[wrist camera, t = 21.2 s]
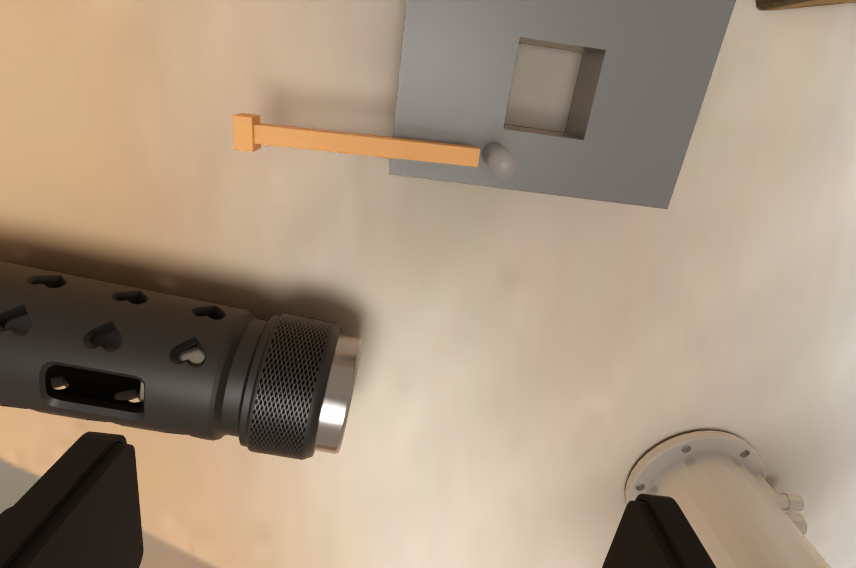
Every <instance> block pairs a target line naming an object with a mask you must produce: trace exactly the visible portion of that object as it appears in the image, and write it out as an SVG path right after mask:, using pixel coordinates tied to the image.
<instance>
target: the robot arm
mask: <svg viewBox="0 0 856 568" xmlns="http://www.w3.org/2000/svg"><path fill="white" fill-rule="evenodd" d="M765 478H766V472H765V466H764V463H763V461H762V459H761V457H760V456H759V455H758V453H757V452H756V451H755V450H754V449H753V448H752V446H750V445H749V444H748V443H747V442H746V441H745V440H743V439H741V438H739V437H737V436H735V435H733V434H729V433H726V432H721V431H696V432H691V433H687V434H682V435H679V436H677V437H674V438H671V439H669V440H667V441H665V442H663V443H661V444H659V445H658V446H656V447H655V448H654V449H652V450H651V451H649V452H648V453H647V454H646V455H645V456H644V457H643V458H642V459H641V460H640V461H639V462H638V463H637V465H636V466H635V467H634V469H633V470H632V472H631V474H630V476H629V478H628V481H627V484H626V490H625V497H626V503H627V506H626V509H625V511H624V514H623V516H622V519H621V521H620V524H619V526H618V529H617V531H616V534H615V536H614V539H613V541H612V544H611V546H610V549H609V552H608V554H607V557H606V559H605V562H604V564H603V567H602V568H831V567H830V566H829V565H828V563H827V562H826V561H825V560H824V559H823V558H822V556H821V555H820V554H819V553H818V552H817V550H816V549H815V548H814V547H813V546H812V545H811V543H810V542H809V541H808V540H807V539H806V537H805V536H804V534H805V533H806V530H807V525H806V521H805V520H804V518H803V516H801V515H800V514H799V513H794V512H784V511H783V509H784V510H795V511H801V510H802V509H803V506H804V504H803V500H802V499H801V497H800V496H798V495H794V494H777V493H776V492H775V491H774V490H773V489H772V487H771V486H770V485H769V484H768V483H767V482H766V480H765ZM142 556H143V539H142V527H141V516H140V504H139V493H138V481H137V470H136V458H135V449H134V447H133V445H130V444H127V442H126V438H125V437H124V436H123V435H116V434H107V433H99V432H87V433H85V434H84V435H82V436H81V437H80V438H79V439H78V440H77V441H76V442H75V443H74V444H73V445H72V446H71V447H70V448H69V449H68V450H67V451H66V452H65V453H64V454H63V455H62V456H61V458H60V459H59V460H58V461H57V462H56V463H55V464H54V465H53V466H52V467H51V468H50V469H49V470H48V471H47V472H46V473H45V474H44V475H43V476H42V477H41V478H40V479H39V480H38V481H37V482H36V483H35V484H34V485H33V486H32V487H31V488H30V489H29V490H28V491H27V492H26V494H25V495H24V496H23V497H22V498H21V499H20V500H19V501H18V502H17V503H16V504H15V505H14V506H12V507H10V508H8V509H6V510H5V511H4V512H2V513H1V514H0V568H139V566H140V564H141V560H142Z"/></svg>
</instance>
